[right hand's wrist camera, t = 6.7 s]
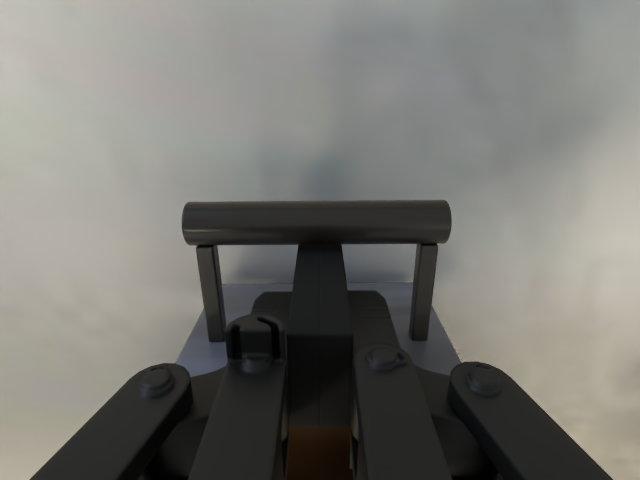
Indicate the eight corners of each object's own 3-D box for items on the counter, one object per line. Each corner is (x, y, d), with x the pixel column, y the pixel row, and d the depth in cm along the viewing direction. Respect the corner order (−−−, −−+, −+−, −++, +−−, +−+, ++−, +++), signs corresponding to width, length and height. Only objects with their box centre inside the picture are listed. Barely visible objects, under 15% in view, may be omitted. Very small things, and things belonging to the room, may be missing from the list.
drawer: (203, 175, 17) (133, 226, 10) (430, 173, 17) (498, 223, 10) (243, 510, 25) (218, 653, 18) (397, 509, 25) (423, 651, 18)
